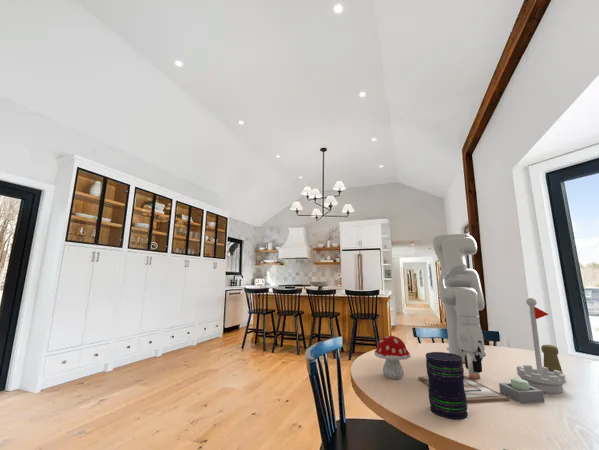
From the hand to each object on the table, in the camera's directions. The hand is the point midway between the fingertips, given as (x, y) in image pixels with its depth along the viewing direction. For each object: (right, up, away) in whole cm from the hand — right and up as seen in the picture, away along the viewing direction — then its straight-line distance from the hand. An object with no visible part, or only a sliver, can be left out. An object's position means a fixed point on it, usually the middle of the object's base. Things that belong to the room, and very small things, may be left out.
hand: (473, 369), depth 111 cm
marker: (0, -3, -1) cm, 3 cm away
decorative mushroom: (-30, -4, +1) cm, 31 cm away
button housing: (+4, +1, -19) cm, 19 cm away
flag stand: (+17, -1, -11) cm, 20 cm away
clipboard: (-12, -1, -12) cm, 17 cm away
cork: (+32, -3, +2) cm, 32 cm away
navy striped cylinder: (-24, +2, -29) cm, 38 cm away
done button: (+4, +2, -19) cm, 19 cm away
